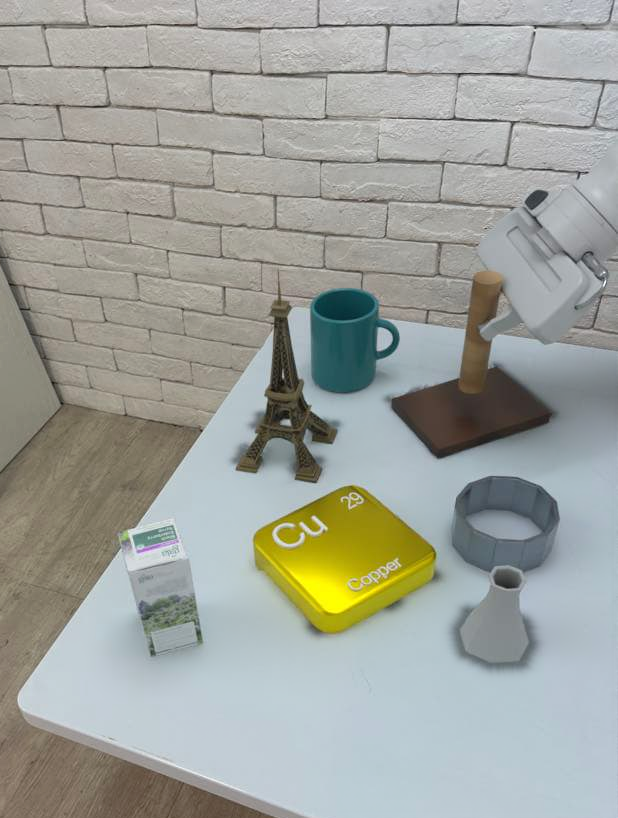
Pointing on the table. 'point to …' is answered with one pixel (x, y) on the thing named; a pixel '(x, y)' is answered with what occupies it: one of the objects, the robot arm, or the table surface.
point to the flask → (498, 619)
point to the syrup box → (162, 586)
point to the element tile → (343, 558)
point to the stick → (474, 344)
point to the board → (469, 413)
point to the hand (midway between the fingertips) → (475, 325)
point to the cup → (346, 339)
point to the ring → (514, 498)
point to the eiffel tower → (286, 405)
